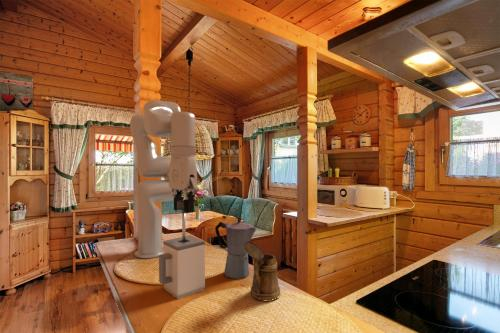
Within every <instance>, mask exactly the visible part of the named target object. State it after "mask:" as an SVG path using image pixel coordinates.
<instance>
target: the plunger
mask: <svg viewBox="0 0 500 333" xmlns="http://www.w3.org/2000/svg"><path fill="white" fill-rule="evenodd" d="M184 200H185V199H184ZM184 200H179V201H177V210H176V211H181V224H182V225H181V227H182V229H181V231H182V232H181V233H182V234H181V237H182V243H184V242H186V236H187V235H186V234H187V233H186V231H187V230H186V213H184Z"/></svg>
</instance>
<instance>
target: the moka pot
mask: <svg viewBox="0 0 500 333" xmlns="http://www.w3.org/2000/svg"><path fill="white" fill-rule="evenodd" d="M236 219H237V221H235V222H230V223H228V222H223V221H219V222H218V224H217V225H215V228H214V229H215V234H216V238H217V241H218V245H219V246H218V247H219V248H221V249H223V250H224V249H227V255H226V260H225V265H224V272H223V274H224V275H225V277H228V278H230V279H233V280H234V279H235V280H236V279H237V280H240V279H241V280H242V279H245V278H247V277H248V276H249V275H250V268H249V254H248V253H247V252H246V251H245V248H244V244H245V243H246V242H248V241H250V242H251V240H252V239H253V236H254V235H255V232H256V231H257V230H258V228H257V227H256V226H254V225H252V224H250V223H246V222H242V219H243V218H241V217H237V218H236ZM219 228H222V229H225V230H226V241H227V245H223V243H222V238H221V235H220V230H219Z"/></svg>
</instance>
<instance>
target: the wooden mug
mask: <svg viewBox="0 0 500 333" xmlns="http://www.w3.org/2000/svg"><path fill="white" fill-rule="evenodd" d="M244 248H245V251H246V252H247V253H248V256H250V257H252V259H253V261H254V262H253V276H252V283H251V284H252V285H251V287H250V293H249V294H250V297H252V298H253V297H254V298H253V299H255V298H256V299H255V300H257V299H260V300H272V299H275V298H277V297H278V296H279V295H281V289H280V288H281V287H280V285H279V284H280V283H279V277H278V276H279V275H278V262H277V258H276V256H275V255H273V254H269V253H264V251H263V249H262V248H261V247H260V246H259V245H257V244H256V243H254V242H252V241H251V240H250V241H248V242H246V243H245V244H244ZM279 297H280V296H279ZM277 299H278V298H277ZM260 300H259V301H260ZM275 300H276V299H275Z"/></svg>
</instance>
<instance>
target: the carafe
mask: <svg viewBox="0 0 500 333" xmlns="http://www.w3.org/2000/svg"><path fill="white" fill-rule="evenodd" d="M205 243H206V241H205V240H202V239H199V238H197V237H194V236H192V235H186V242H184V243H182V236H181V237H177V238H171V239H167V240H162V247H163V254H162V255H159V256H158V282H159V284H161V285H163V289H164V290H165V291H166V292H168V293H169V294H171V295H172V296H173V297H174V298H176V300H180V299H182V298H186V297H188V296H191V295H194V294H196V293H199V292H202V291H205V290H206V255H205V254H206V250H205V248H206V246H205V245H206V244H205Z"/></svg>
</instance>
